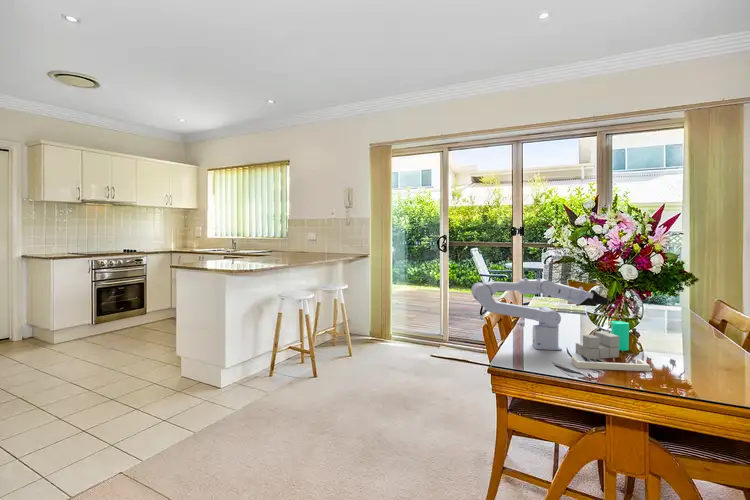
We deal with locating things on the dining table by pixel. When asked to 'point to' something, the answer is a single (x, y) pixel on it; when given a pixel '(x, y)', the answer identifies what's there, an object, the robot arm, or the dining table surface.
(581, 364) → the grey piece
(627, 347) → the candle
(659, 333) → the dining table surface
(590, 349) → the grey stepped blocky piece
